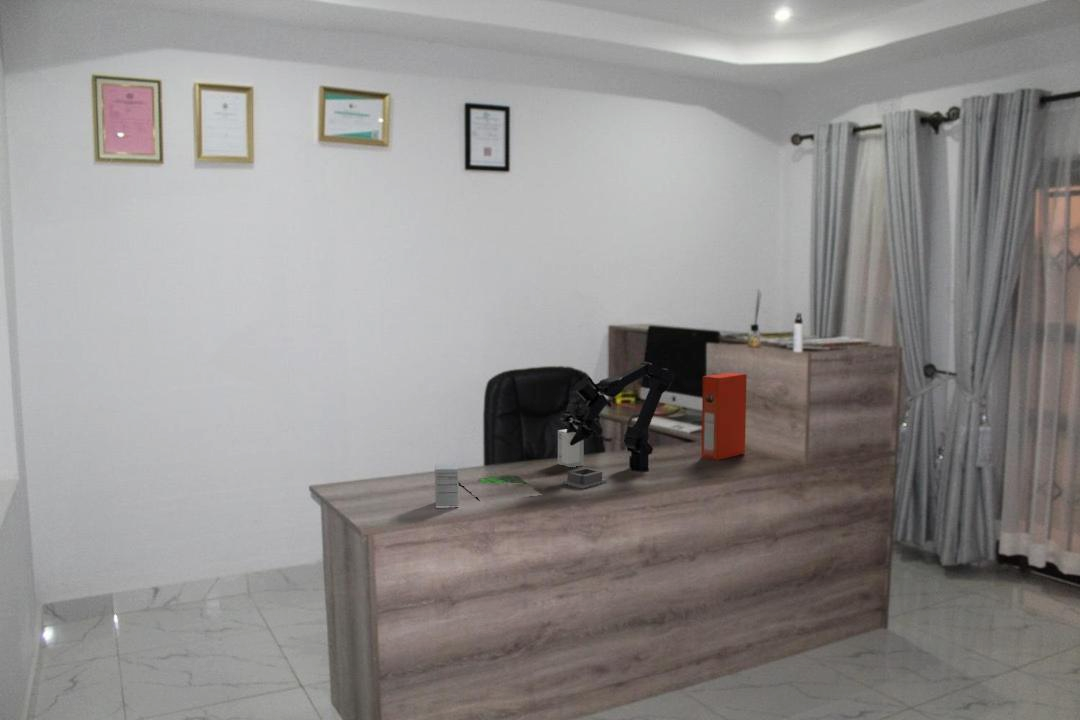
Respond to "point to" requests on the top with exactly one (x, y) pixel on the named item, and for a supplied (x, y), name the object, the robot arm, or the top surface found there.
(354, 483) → the top surface
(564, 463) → the small box
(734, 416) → the file binder
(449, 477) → the grey drawer cabinet
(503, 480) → the mouse mat
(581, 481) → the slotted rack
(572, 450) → the plain light grey box
